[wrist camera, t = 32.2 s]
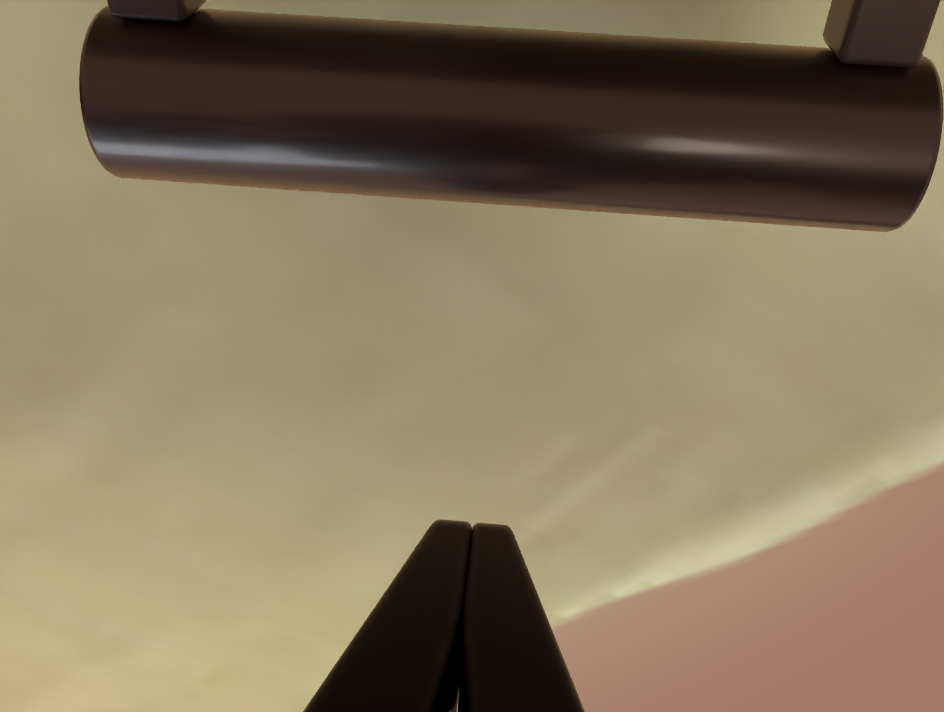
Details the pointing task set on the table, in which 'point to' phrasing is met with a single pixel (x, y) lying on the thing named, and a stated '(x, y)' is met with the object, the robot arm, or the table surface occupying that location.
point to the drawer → (524, 112)
